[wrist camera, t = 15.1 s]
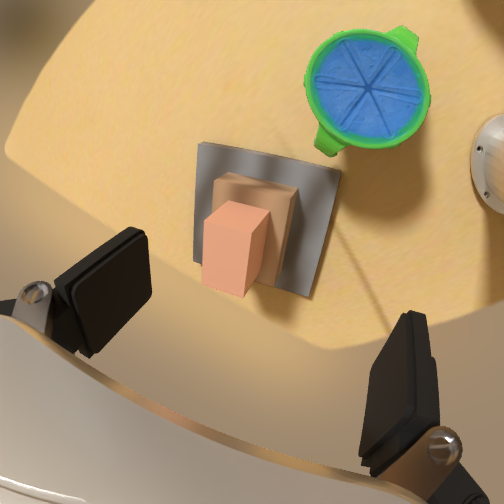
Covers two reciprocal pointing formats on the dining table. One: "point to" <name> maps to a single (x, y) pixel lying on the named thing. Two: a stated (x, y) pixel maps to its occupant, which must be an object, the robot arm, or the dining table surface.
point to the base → (304, 211)
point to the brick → (233, 247)
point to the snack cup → (367, 89)
